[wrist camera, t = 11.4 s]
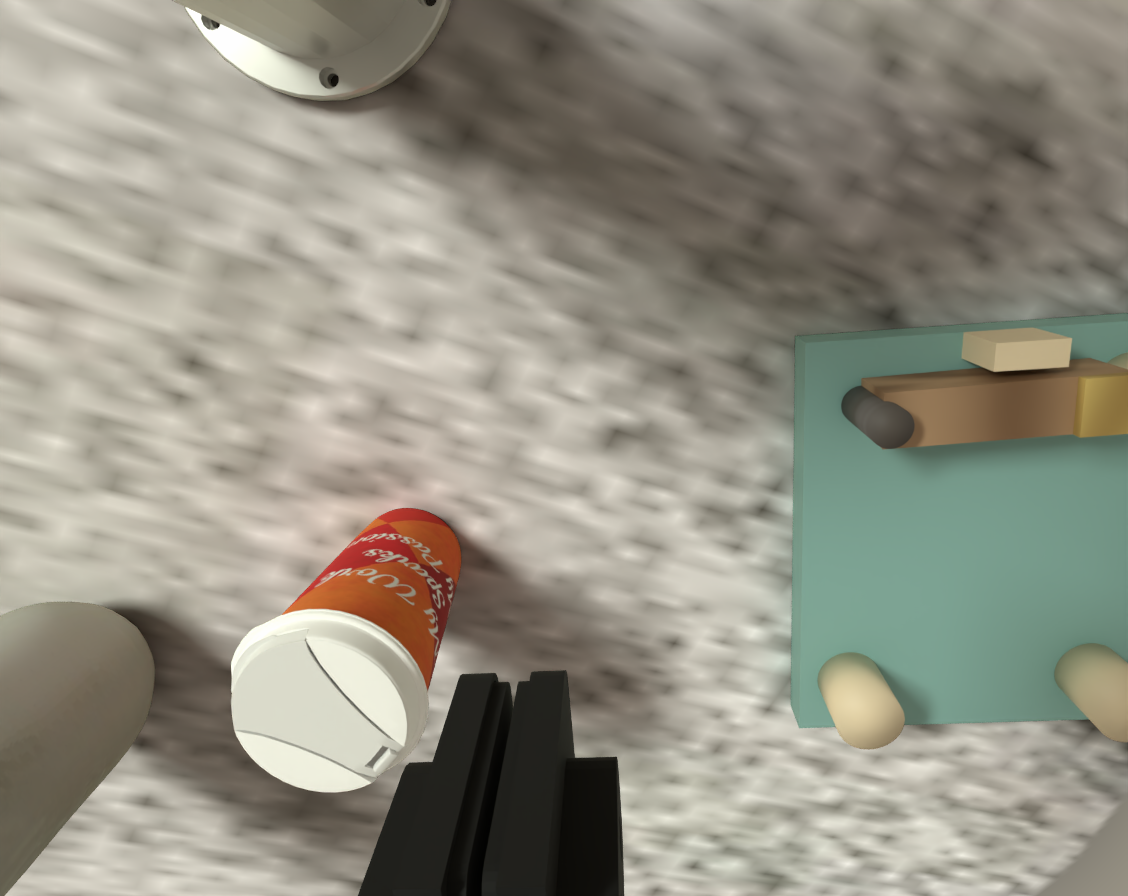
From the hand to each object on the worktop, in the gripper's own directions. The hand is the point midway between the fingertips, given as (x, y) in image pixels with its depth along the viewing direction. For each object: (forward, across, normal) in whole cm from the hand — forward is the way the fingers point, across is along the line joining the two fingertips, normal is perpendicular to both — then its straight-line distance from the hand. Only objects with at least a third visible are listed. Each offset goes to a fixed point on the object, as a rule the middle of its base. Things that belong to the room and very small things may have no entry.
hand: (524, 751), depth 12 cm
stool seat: (+27, -19, +9) cm, 34 cm away
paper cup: (+27, +10, +9) cm, 30 cm away
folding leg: (+25, -18, +1) cm, 30 cm away
